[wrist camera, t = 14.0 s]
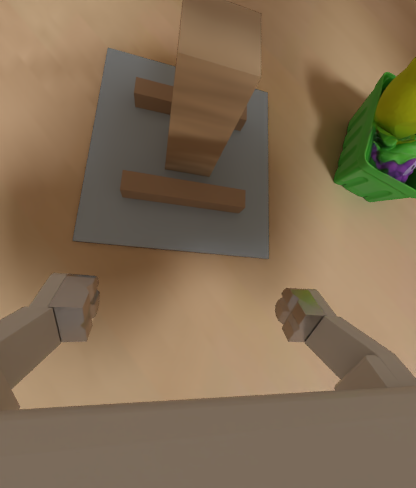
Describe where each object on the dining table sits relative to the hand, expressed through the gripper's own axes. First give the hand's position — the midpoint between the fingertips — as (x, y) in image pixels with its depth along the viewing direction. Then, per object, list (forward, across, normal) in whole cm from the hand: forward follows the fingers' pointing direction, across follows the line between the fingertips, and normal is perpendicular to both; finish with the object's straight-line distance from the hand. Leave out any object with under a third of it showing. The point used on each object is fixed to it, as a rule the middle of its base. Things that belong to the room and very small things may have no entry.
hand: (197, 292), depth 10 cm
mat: (+14, 0, -3) cm, 15 cm away
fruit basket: (+17, -19, -5) cm, 26 cm away
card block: (+14, 0, -3) cm, 15 cm away
